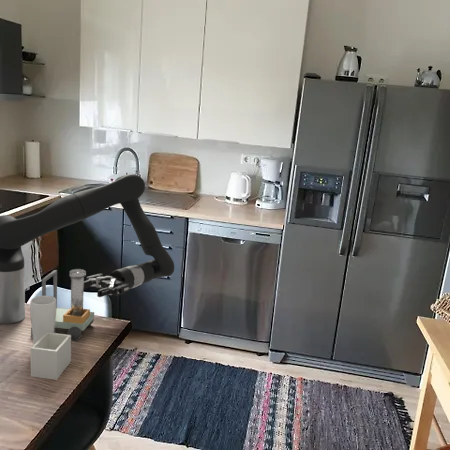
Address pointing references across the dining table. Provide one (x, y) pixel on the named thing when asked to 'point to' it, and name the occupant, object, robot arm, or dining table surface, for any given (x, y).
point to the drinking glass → (42, 316)
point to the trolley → (68, 313)
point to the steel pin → (77, 291)
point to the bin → (50, 355)
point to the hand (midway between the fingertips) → (89, 290)
